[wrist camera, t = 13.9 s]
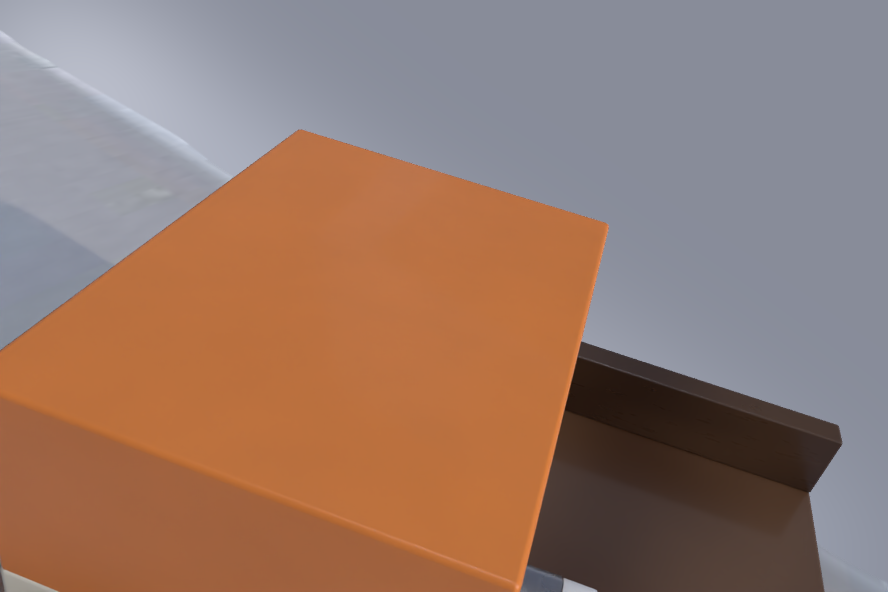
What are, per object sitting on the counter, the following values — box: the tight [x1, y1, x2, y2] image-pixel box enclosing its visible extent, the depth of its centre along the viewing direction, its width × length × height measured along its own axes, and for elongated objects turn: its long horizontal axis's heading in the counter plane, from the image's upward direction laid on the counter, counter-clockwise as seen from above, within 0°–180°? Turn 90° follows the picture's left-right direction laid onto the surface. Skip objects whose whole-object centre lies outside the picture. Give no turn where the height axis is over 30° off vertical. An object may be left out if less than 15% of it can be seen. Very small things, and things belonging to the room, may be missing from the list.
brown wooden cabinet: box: [527, 342, 842, 592], centre depth 27 cm, size 15×10×12 cm, turn 74°
